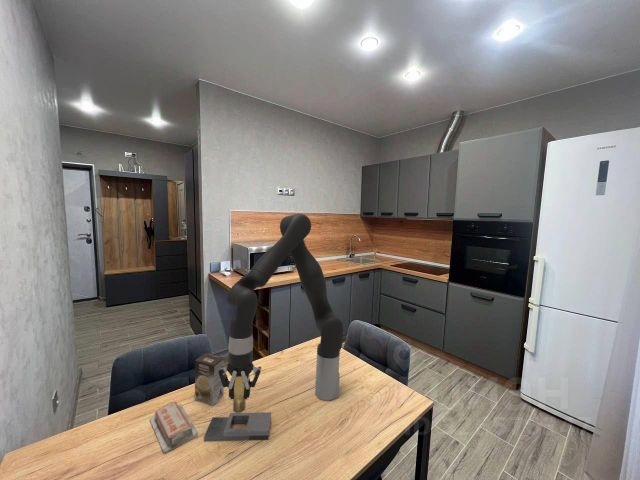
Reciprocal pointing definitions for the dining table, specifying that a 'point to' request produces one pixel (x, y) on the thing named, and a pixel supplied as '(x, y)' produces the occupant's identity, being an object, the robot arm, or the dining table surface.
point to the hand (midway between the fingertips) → (239, 397)
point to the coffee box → (208, 379)
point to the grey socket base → (254, 431)
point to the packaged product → (172, 426)
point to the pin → (239, 395)
